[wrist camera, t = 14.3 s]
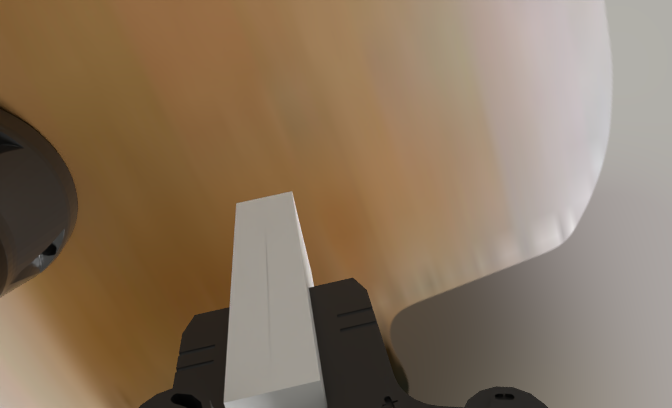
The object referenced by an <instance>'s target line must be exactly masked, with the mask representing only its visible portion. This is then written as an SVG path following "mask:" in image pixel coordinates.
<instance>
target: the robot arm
mask: <svg viewBox="0 0 672 408" xmlns="http://www.w3.org/2000/svg"><path fill="white" fill-rule="evenodd" d="M77 212H78V201H77V193H76V189H75V185H74V182H73V179H72V177H71V174H70V172H69V170H68V168H67V166H66V165H65V163H64V161H63V160H62V158H61V157H60V155H59V154H58V153H57V152H56V150H55V149H54V148H53V147H52V146H51V145H50V143H49V142H48V141H47V140H46V139H45V138H44V137H42V136H41V135H40V134H39V133H38V132H37V131H36V130H34V129H33V128H32V127H30V126H29V125H28V124H26V123H25V122H23V121H22V120H20V119H18V118H17V117H15V116H13V115H11V114H9V113H7V112H5V111H3V110H1V109H0V297H2V296H4V295H5V294H7V293H9V292H10V291H12V290H14V289H15V288H17V287H19V286H20V285H22V284H24V283H25V282H27V281H29V280H30V279H32V278H33V277H35V276H37V275H38V274H40V273H41V272H42V271H44V270H45V269H46V268H47V267H48V266H49V265H50V264H51V263H52V262H53V261H54V260H55V259H56V258H57V257H58V255H59V254H60V252H61V251H62V249H63V248H64V246H65V244H66V243H67V241H68V239H69V238H70V236H71V234H72V232H73V229H74V226H75V223H76V219H77ZM179 354H180V356H178V362H177V367H176V369H177V372H176V373H175V379H174V384H173V388H172V389H170V390H167V391H164V392H162V393H159V394H157V395H155V396H154V397H152V398H151V399H149V400H148V401H146V402H145V403H143V404H142V405H141V406H140V407H139V408H462V407H443V406H435V405H429V404H425V403H423V402H420V401H418V400H415V399H414V398H412V397H411V396H409V395H408V394H406V393H405V392H404V391H403V390H402V389H401V387H400V386H399V385H398V383H397V381H396V379H395V377H394V374H393V371H392V368H391V365H390V362H389V358H388V355H387V352H386V349H385V346H384V343H383V340H382V336H381V333H380V330H379V327H378V324H377V321H376V318H375V314H374V311H373V309H372V305H371V302H370V299H369V296H368V293H367V290H366V289H365V288H364V287H363V286H362V285H360V284H359V283H358V282H357V281H356V280H355V279H354V278H350V279H345V280H341V281H337V282H332V283H328V284H323V285H319V286H315V287H314V285H313V279H312V273H311V269H310V265H309V261H308V256H307V252H306V248H305V244H304V240H303V235H302V231H301V227H300V223H299V219H298V215H297V210H296V206H295V202H294V198H293V194H292V191H291V192H287V193H282V194H278V195H273V196H268V197H264V198H259V199H255V200H250V201H245V202H241V203H236V218H235V233H234V249H233V264H232V280H231V295H230V307H229V308H224V309H220V310H215V311H211V312H207V313H202V314H198V315H195V316H194V317H193V319H192V320H191V322H190V323H189V325H188V326H187V328H186V329H185V331H184V332H183V334H182V339H181V345H180V351H179ZM464 408H548V407H547V406H546V405H545V404H544V403H542V402H541V401H539V400H538V399H537V398H536V397H534V396H533V395H532V394H530V393H527V392H525V391H522V390H519V389H516V388H513V387H493V388H489V389H485V390H482V391H479V392H478V393H477V394H475V395H474V396H473V397H471V398H470V399H469V400H468V401H467V403H466V405H465V407H464Z"/></svg>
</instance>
